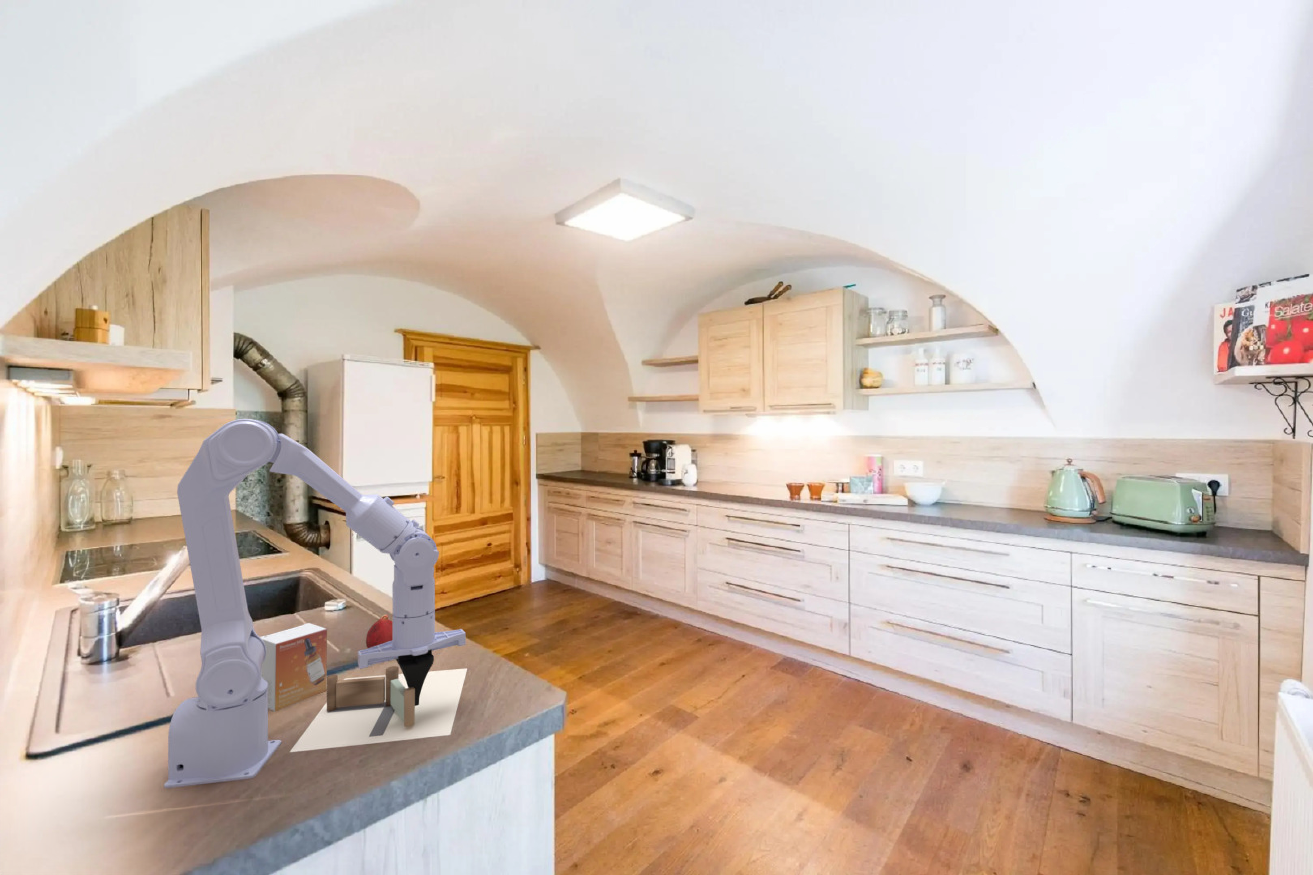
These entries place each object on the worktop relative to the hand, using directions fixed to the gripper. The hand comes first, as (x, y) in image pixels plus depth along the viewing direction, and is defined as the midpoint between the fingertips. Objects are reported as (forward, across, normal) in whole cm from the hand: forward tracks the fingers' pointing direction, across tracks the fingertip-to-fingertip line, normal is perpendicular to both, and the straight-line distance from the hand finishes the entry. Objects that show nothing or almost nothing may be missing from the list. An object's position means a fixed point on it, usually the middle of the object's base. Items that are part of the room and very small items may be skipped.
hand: (414, 703), depth 81 cm
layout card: (+2, -2, +6) cm, 7 cm away
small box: (+3, -14, +18) cm, 23 cm away
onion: (+3, +1, +27) cm, 27 cm away
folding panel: (+2, -1, +1) cm, 2 cm away
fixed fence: (+2, -6, +8) cm, 10 cm away
